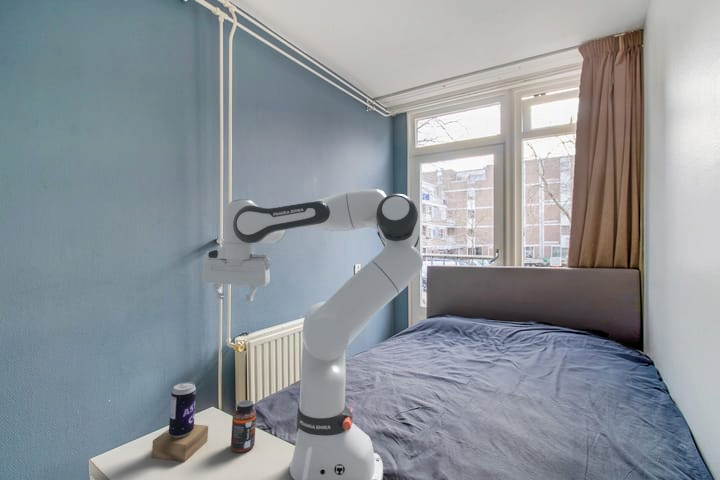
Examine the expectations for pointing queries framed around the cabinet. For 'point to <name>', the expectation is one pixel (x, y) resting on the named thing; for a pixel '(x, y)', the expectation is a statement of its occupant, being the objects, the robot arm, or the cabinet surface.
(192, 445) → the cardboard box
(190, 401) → the beverage can
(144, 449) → the cabinet surface
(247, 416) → the supplement bottle
